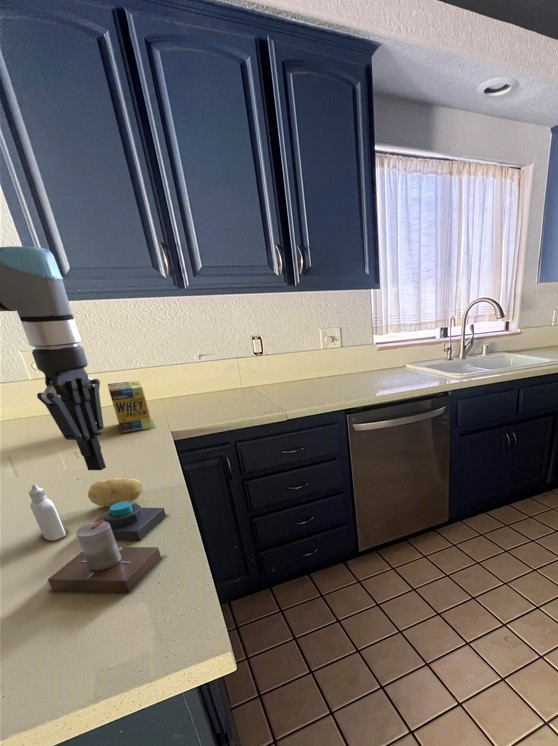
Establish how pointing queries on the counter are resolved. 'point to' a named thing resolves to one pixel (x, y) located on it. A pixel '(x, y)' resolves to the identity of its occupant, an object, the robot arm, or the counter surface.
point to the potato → (114, 491)
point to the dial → (98, 545)
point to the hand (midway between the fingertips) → (97, 468)
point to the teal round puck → (121, 509)
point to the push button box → (134, 522)
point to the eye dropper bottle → (46, 514)
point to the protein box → (130, 406)
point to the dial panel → (106, 572)
